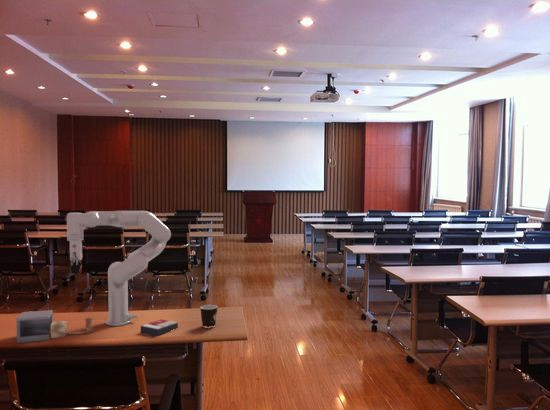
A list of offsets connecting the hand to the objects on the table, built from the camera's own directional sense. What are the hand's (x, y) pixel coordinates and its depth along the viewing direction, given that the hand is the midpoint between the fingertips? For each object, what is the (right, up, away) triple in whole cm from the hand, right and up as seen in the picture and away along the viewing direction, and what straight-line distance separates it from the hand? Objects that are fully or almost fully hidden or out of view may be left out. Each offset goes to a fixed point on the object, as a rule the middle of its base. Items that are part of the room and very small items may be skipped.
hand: (75, 271), depth 234 cm
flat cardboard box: (+43, -29, -4) cm, 52 cm away
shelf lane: (-12, -29, -15) cm, 35 cm away
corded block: (+3, -29, -10) cm, 31 cm away
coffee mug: (+68, -29, +4) cm, 73 cm away
